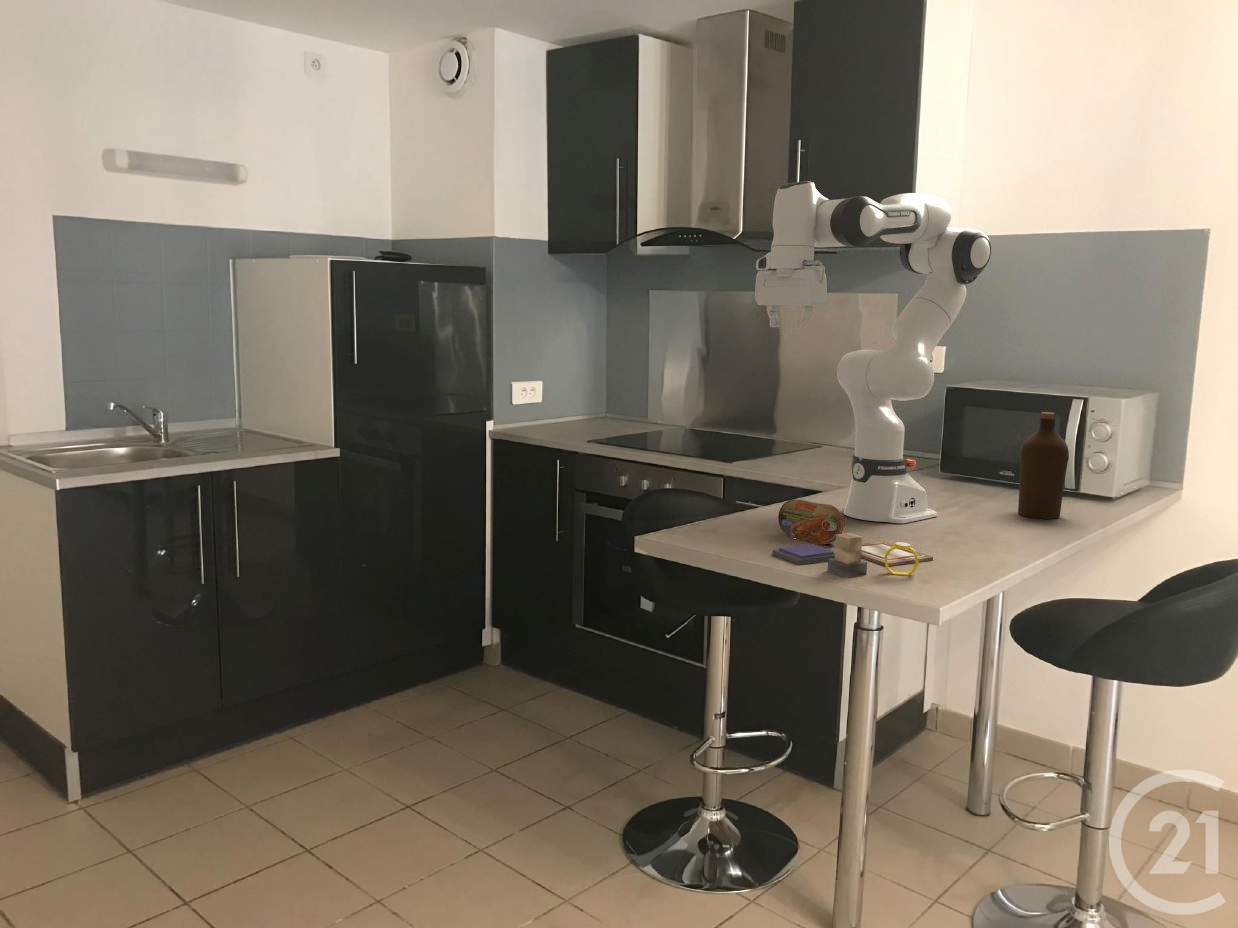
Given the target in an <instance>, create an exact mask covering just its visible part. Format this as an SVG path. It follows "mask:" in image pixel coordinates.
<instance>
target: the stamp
mask: <svg viewBox="0 0 1238 928" xmlns="http://www.w3.org/2000/svg"><path fill="white" fill-rule="evenodd" d="M834 542H835V544H834V553H835V558H832V559H828V561H827V571H828V572H830V573H833V574H836V575H839V576H840V577H844V578H851V577H858V576H866V575H867V573H868V572H867V570H868V562H867V561H863V560H862V558H861V552H862V544H863V536H861V535H858V534H854V533H852V532H847V533H842V534H837V535H836V541H834Z"/></svg>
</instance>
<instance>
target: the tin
mask: <svg viewBox="0 0 1238 928" xmlns="http://www.w3.org/2000/svg"><path fill="white" fill-rule="evenodd" d="M777 519H778V524H779V527H780V529H781V531H782V533H783V534H784V535H785V536H786V537H788V538H790V537H791V538H790V539H793V538H796V539H795V540H798V541H802V542H803V541H804V542H808V543H811V544H817V545H827V544H832V543H834V542H835V541H836V535H837V534H843V531H844V517H843V515H842V513H841V512H840V510H839V508H837V507H835V506H833V505H832V504H827V503H820V502H816V501H809V500H804V499H790V500H787V501H785V502H784V503H783V504H782V505H781V507H780V509H779V511H778V517H777Z"/></svg>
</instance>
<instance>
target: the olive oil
mask: <svg viewBox="0 0 1238 928" xmlns="http://www.w3.org/2000/svg"><path fill="white" fill-rule="evenodd" d="M1056 415H1057V414H1056V413H1055V412H1051V411H1050V412H1047V411H1046V412H1045V411H1041V414H1040V416H1041V417H1040V419H1039V427H1038V428H1037V430H1036V431H1034V432H1033V433H1032V434H1031V435H1030V436H1029V437H1028V438H1026V439H1025V441H1024V442H1023V443H1022V446H1021V449H1020V462H1019V463H1020V464H1019V465H1020V466H1019V467H1020V468H1019V470H1020V471H1019V490H1018V491H1019V493H1018V504H1017V505H1018V507H1017V513H1018V514H1019V515H1021V516H1022V517H1023V516H1024V517H1026V518H1033V519H1040V520H1054V519H1055V520H1056V519H1059V518H1060V516H1061V510H1062V504H1063V497H1064V496H1063V494H1064V490H1065V489H1064V488H1065V482H1066V476H1067V469H1068V463H1069V458H1070V455H1069V454H1070V452H1069V447H1068V445H1067V442H1066V441H1065V440H1064V439H1063V437H1062V436H1061V435H1060V434H1059V432H1057V430H1056V427H1055V426H1056Z"/></svg>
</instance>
